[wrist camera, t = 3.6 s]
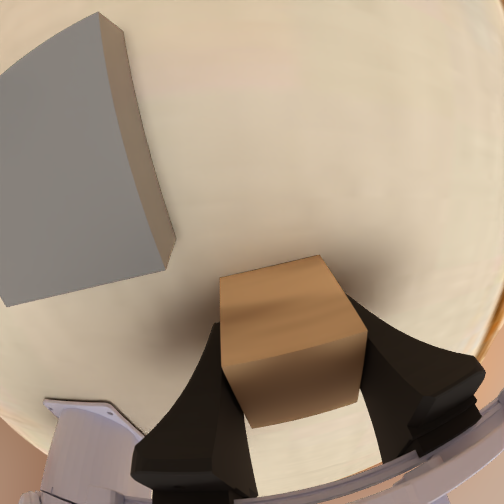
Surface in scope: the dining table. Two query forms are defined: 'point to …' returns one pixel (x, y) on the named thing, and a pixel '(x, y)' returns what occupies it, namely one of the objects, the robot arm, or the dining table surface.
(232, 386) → the oak block
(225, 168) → the dining table surface
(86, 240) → the slate base
